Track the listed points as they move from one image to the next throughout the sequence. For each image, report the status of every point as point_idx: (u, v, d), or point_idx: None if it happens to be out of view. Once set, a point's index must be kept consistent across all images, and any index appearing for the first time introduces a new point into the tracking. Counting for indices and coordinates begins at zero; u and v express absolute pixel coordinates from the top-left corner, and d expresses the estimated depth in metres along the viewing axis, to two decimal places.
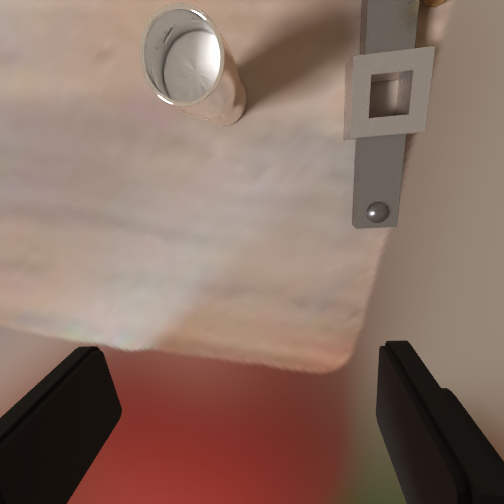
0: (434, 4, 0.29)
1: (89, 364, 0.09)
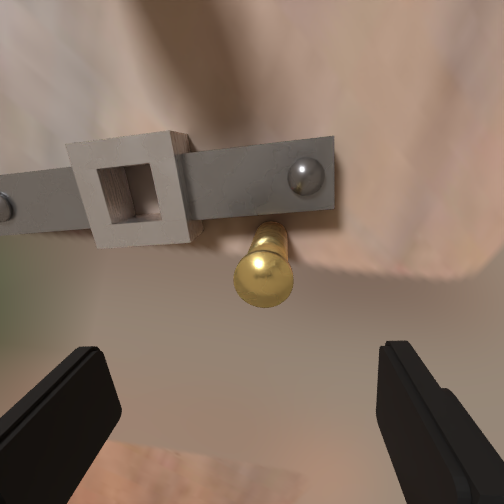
0: None
1: (89, 364, 0.09)
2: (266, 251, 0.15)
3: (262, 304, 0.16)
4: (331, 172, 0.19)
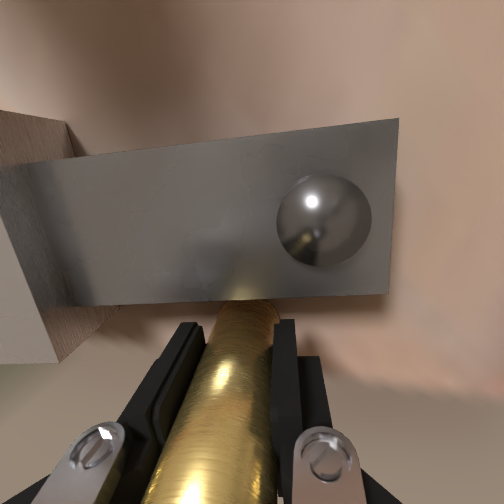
0: None
1: (196, 337, 0.09)
2: None
3: None
4: (386, 211, 0.08)
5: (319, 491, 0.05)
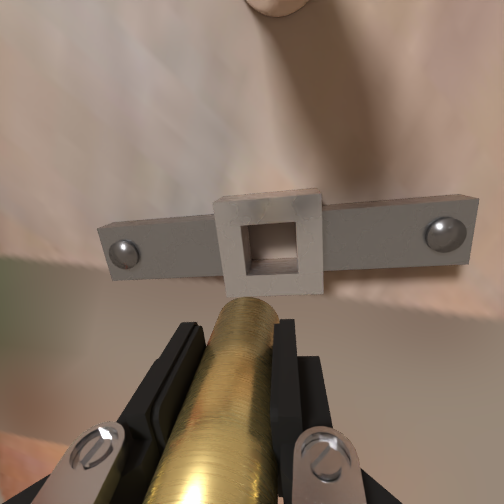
0: None
1: (196, 337, 0.09)
2: None
3: None
4: (471, 231, 0.20)
5: (319, 491, 0.05)
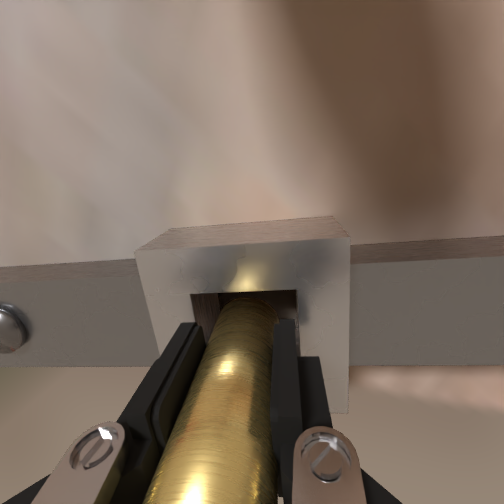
0: None
1: (196, 337, 0.09)
2: None
3: None
4: None
5: (319, 491, 0.05)
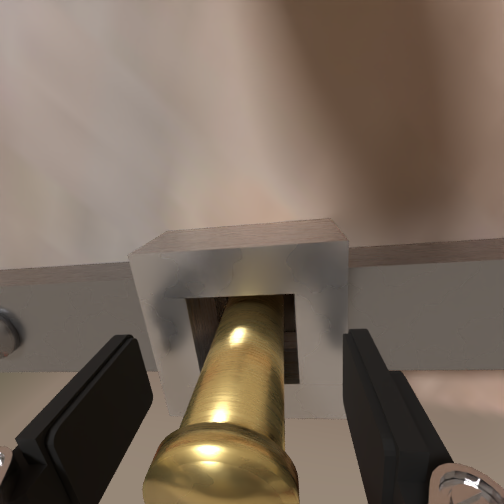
0: None
1: (127, 350, 0.09)
2: (225, 438, 0.05)
3: None
4: None
5: None
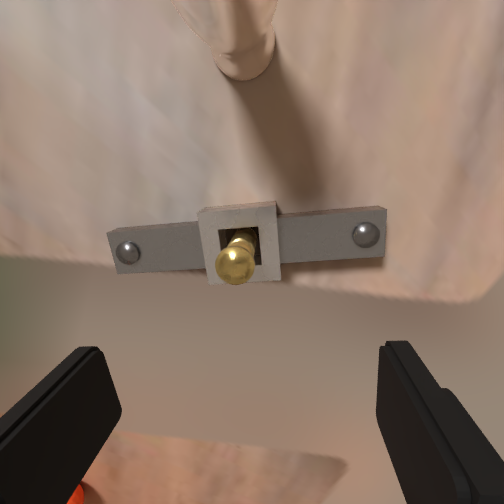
0: None
1: (89, 364, 0.08)
2: (236, 246, 0.23)
3: (234, 282, 0.23)
4: (383, 232, 0.28)
5: None
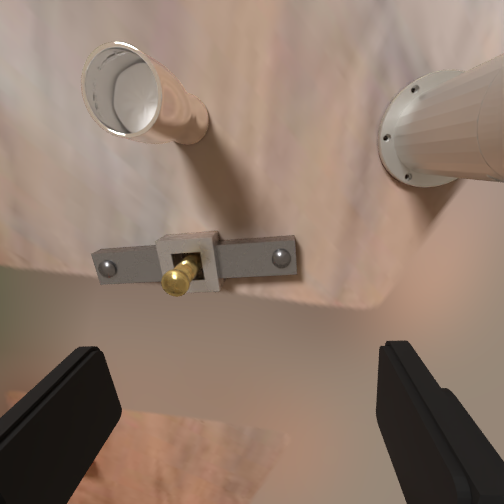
0: None
1: (89, 364, 0.08)
2: (175, 270, 0.32)
3: (175, 294, 0.33)
4: (294, 256, 0.37)
5: None
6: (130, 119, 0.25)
